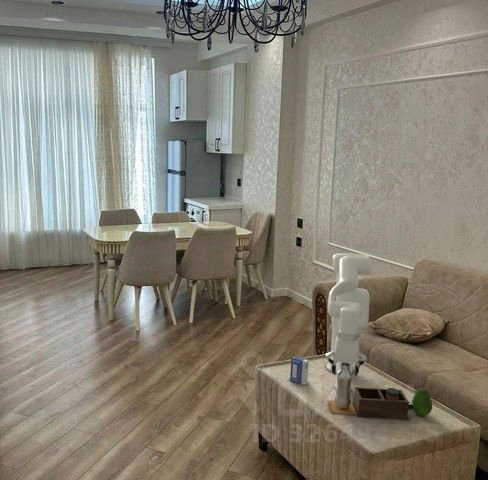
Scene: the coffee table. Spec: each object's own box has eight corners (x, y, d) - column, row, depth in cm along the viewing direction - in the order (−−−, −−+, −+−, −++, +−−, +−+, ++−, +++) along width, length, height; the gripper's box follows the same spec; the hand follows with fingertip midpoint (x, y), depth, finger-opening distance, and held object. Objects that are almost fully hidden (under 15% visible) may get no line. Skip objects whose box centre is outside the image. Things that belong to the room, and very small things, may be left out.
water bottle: (351, 393, 247) (355, 342, 242) (335, 391, 249) (339, 340, 244) (350, 386, 254) (354, 336, 249) (334, 384, 255) (338, 335, 250)
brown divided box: (353, 403, 238) (354, 386, 236) (399, 406, 236) (401, 389, 234) (358, 416, 227) (359, 399, 226) (407, 419, 225) (409, 402, 224)
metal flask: (352, 410, 232) (356, 366, 228) (338, 411, 230) (341, 367, 226) (346, 402, 238) (349, 360, 234) (331, 403, 237) (334, 361, 233)
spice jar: (383, 408, 234) (385, 387, 232) (395, 409, 233) (397, 388, 231) (386, 414, 229) (388, 393, 227) (398, 415, 228) (400, 393, 226)
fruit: (435, 419, 226) (438, 393, 223) (417, 420, 224) (420, 394, 222) (424, 409, 233) (427, 384, 231) (407, 411, 232) (410, 385, 230)
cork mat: (328, 401, 240) (328, 400, 239) (351, 403, 239) (351, 402, 238) (332, 413, 230) (332, 412, 230) (356, 414, 229) (356, 413, 229)
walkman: (290, 380, 259) (291, 357, 257) (292, 378, 261) (293, 355, 259) (305, 385, 255) (306, 361, 252) (307, 383, 257) (309, 359, 255)
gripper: (366, 333, 230) (363, 371, 234) (325, 331, 232) (322, 369, 236) (370, 340, 223) (367, 379, 226) (328, 338, 225) (325, 376, 228)
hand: (344, 373), depth 231 cm, fingers open, 8 cm apart
